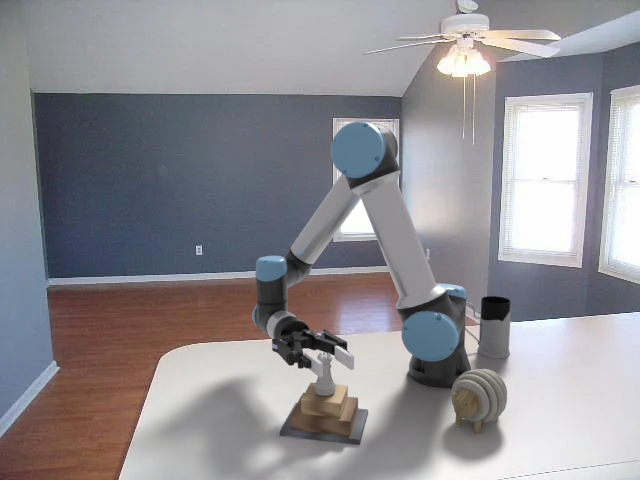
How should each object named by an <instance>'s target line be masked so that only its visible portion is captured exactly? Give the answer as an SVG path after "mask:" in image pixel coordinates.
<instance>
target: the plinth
mask: <svg viewBox="0 0 640 480" xmlns="http://www.w3.org/2000/svg"><path fill="white" fill-rule="evenodd" d="M315 383H316V382H310V383H309V385H308V386H307V389H306V390H305V392H302V394H301V395H300V397H299V400H298V401H297V402H295V403H294V404H293V407H292V409H291V411H290V412H289V414H288V415H287V417H286V420H285V421H284V422H283V424H282V427H281V428H280V430H279V437H288V438H289V437H290V438H298V439H305V440H306V439H307V440H316V441H317V440H318V441H326V442H334V443H343V444H352V445H361V442H362V438H363V435H364V430H365V427H366V424H367V423H366V422H367V418H368V416H369V409H367V408H360V407H359V397H354V396H349V386H348V385H347V384H346V385H345V384H336V383H335V388H336V391H335V392H334V394H332V395H330V396H320V395H317V394H316V393H315V391H314V389H315Z"/></svg>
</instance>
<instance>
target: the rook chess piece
mask: <svg viewBox="0 0 640 480" xmlns="http://www.w3.org/2000/svg"><path fill="white" fill-rule="evenodd" d="M316 358H317V359H318V360H319V361H321V362H322V363H323V377H318V376H317V378H316V381H315V382H314V383H315V389H314V391H315V393H316V394H317V395H320V396H330V395H332V394H334V392H335V391H336V388H335V384H336V382H335V381H334V379H333V377H332V372H331V368H332V364H331V362H332V361H333V357H332V356H331V354H329V353H326V352H323V351H322V352H319V353H318V354H317V357H316Z"/></svg>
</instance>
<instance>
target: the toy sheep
mask: <svg viewBox="0 0 640 480" xmlns="http://www.w3.org/2000/svg"><path fill="white" fill-rule="evenodd" d="M450 400H451V403H452V404H451V405H452V406H453V410H454V413H455V420H454V422H455V424H454V425H456V426H457V427H461V426H462V425H463V419H464V420H467V421H469V422H471V423H473V431H474V433H475V434H480V433H481V428H482V425H481V424H483V423H491V422H494V421H497V420H499V418H500V417H501V415H502V413H503V412H504V411H505V409H506V408H507V407H506V406H507V403H508V389H507V386H506V383H505V381H504V379H503V378H502V377H501V376H500V375H499V374H498V373H497V372H495V371H493V370H491V369H488V368H482V369H481V368H475V369H471V370H470V371H467V372H465V373H463V374H462V375H460V377H459V378H457V379H456V381H455V382H454V384H453V386H452V387H451V391H450Z"/></svg>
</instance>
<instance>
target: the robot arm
mask: <svg viewBox="0 0 640 480" xmlns="http://www.w3.org/2000/svg"><path fill="white" fill-rule="evenodd" d="M398 154H399V143H398V139H397V137H396V135H395V134H394V133H393V131H392V130H391V129H390V128H388V127H387V126H385V125H383V124H380V123H376V122H375V123H373V122H371V121H369V120H357V121H354V122H352V121H351V122H349V123H347V124H345V125H343V126H342V127H341V128H339V130H338V131H337V133H336V134H335V135H334V137H333V139H332V141H331V145H330V156H331V161H332V164H333V165H334V167H335V169H337V170H338V171H339V172H340V175H339V178H337V180H336V182H335V183H334V184H333V185H332V187H331V188H330V190H329V191H328V193H326V196H325V197H324V199H323V200H322V201H321V203H320V204H319V205H318V208H316V209H315V211H314V213H313V215H312V216H311V217H310V219H309V220H308V222H307V223H306V225H305V226H304V227H303V228H302V230H301V232H300V233H299V235H298V236H297V238H296V239H294V241H293V243H292V244H291V246H290V248H289V249H288V250H287V252H286V254H285V255H284V256H280V255H266V256H261V257H259V258H258V259H257V260H256V262H255V273H254V275H255V286H256V289H255V291H256V305H255V306H254V307H253V310H252V312H251V313H252V315H251V316H252V317H251V318H252V321H253V323H254V324H255V326H256V327H257V329H259V330H260V332H262V333H264V334H265V335H267V336H268V337H269V338H271V349H272V350H271V351H272V352H275V353H276V354H278V355H279V356H280V357H281V358H282V360H283V361H284V362H285V363H286V364H287V365H288V366H290V367H292V366H294V365H295V364H297V369H304V368H305V369H308V370H310V371H311V372H312V373H314V374H315V375H316V376H317V378H318V377H323V363H322V362H321V361H319V360H318V359H317V357H316V356H314V355H313V354H311V353H310V352H309V351H306V352H304V350H303V349H309V350H312V351H320V352H322V353H323V352H325V354H327V353H329V354H330V356H331V355H332V356H333V357H334V359H335V360H336V361H337V362H339V363H340V364H341V365H343V366H345V367H346V368H347V369H349V370H350V371H352V370H355V356H354V355H353V354H351V353H350V351H349V350H348V341H346V340H345V339H342V338H340V337H339V336H336V335H335V334H333V333H331V332H329V330H328V329H327V328H326V329H325V328H324V329H322V331H321V332H316V331H314V330H311V329H310V328H309V326H308V324H307V323H306V322H305V321H303V320H302V319H300V317H297V316H296V315H295V314H294V313H292V312H290V311H288V289H289V288H291V287H292V286H295V285H296V284H298V283H300V282H303V281H304V280H305V279H306V278H307V277H308V276H309V275H310V274H311V271H312V267H313V266H314V264H315V262H316V261H317V260H318V258H319V256H320V255H321V254H322V253H323V252H324V250H325V248H326V247H327V246H328V244H329V243H330V242H331V241H332V239H333V238H334V236H335V235H336V234H337V232H338V231H339V229H340V228H341V227H342V225H343V224H344V223H345V221H346V220H347V218H349V216H350V215H351V213H352V211H353V210H355V208H356V206H357V205H358V204H359V203H360V201H362V204H363V207H364V209H365V212H366V214H367V217H368V219H369V222H370V225H371V228H372V231H373V233H374V236H375V238H376V240H377V242H378V245H379V248H380V251H381V253H382V256H383V259H384V261H385V263H386V266H387V269H388V272H389V274H390V277H391V279H392V282H393V284H394V286H395V289H396V293H397V294H398V300H397V301H396V304H395V308H396V310H397V314H398V315H399V319H400V321H401V324H402V325H401V326H402V327H401V329H400V330H401V341H402V343H403V346H404V347H405V349H406V350H407V351H408V353H409V354H410V355H411V358H410V361H409V363H408V373H409V376H410V377H411V378H412V379H413V380H415V381H416V382H418V383H420V384H424V385H426V386H431V387H436V388H452V386H453V384H454V382H455V381H456V379H457V378H459V377H460V375H462V374H463V373H465V372H467V371H470V370H472V366H471V363H470V360H469V357H468V353H467V349H466V347H465V346H466V345H465V342H466V341H465V339H466V338H465V337H466V336H465V335H466V330H465V328H466V315H467V314H466V309H467V303H466V302H468V298H467V291H466V289H465V288H464V286H461V285H457V284H450V283H449V284H448V283H438V282H436V279H435V277H434V275H433V272H432V269H431V266H430V264H429V261H428V258H427V256H426V254H425V251H424V249H423V246H422V243H421V241H420V238H419V236H418V233H417V230H416V228H415V225H414V222H413V219H412V216H411V214H410V213H409V212H410V211H409V209H408V206H407V204H406V202H405V199H404V196H403V193H402V190H401V188H400V186H399V184H398V179H399V177H400V176H401V169H400V166H399V163H398V161H397V157H398Z"/></svg>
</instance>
